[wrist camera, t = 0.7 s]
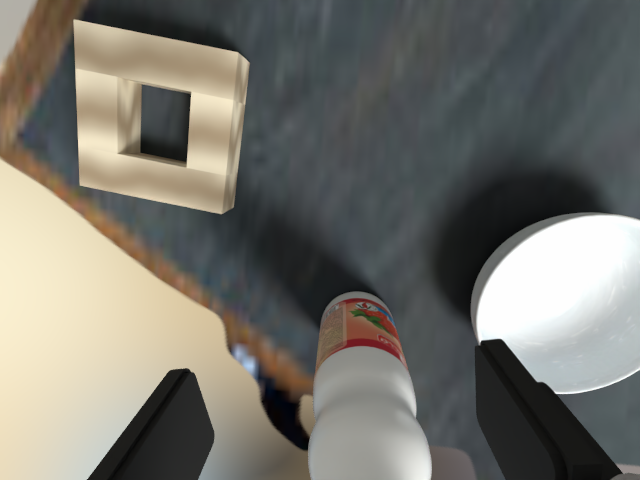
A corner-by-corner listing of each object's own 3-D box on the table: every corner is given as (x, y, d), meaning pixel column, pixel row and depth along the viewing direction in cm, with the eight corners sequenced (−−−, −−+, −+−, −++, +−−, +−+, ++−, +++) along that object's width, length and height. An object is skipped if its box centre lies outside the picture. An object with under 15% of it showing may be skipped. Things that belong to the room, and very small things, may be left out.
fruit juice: (310, 301, 42) (256, 583, 15) (379, 279, 40) (455, 549, 13) (335, 359, 44) (327, 691, 17) (401, 340, 43) (503, 673, 16)
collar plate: (103, 33, 34) (73, 19, 30) (249, 62, 34) (238, 52, 30) (105, 181, 39) (79, 185, 35) (233, 207, 39) (221, 214, 35)
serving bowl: (467, 370, 43) (490, 410, 37) (441, 226, 38) (462, 244, 31) (634, 339, 40) (691, 377, 34) (632, 179, 35) (699, 188, 28)
